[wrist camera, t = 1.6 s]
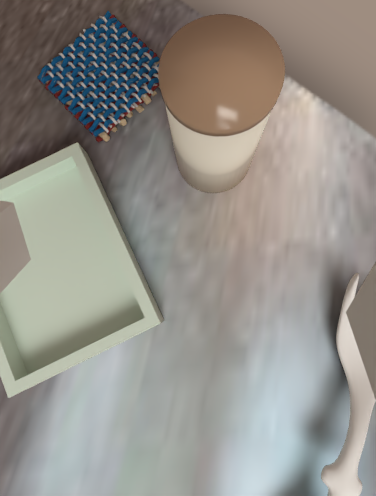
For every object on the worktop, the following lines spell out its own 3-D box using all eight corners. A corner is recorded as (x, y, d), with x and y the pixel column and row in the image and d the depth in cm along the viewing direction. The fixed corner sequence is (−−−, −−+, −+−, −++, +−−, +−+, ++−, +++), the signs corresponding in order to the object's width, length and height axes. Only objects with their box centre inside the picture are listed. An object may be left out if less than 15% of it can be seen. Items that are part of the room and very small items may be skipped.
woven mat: (180, 81, 31) (178, 67, 29) (104, 150, 31) (98, 140, 29) (113, 19, 33) (107, 2, 31) (40, 84, 32) (29, 70, 30)
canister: (163, 142, 30) (137, 47, 18) (230, 110, 30) (248, -6, 18) (196, 206, 29) (191, 150, 17) (265, 173, 29) (308, 94, 17)
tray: (-40, 215, 30) (-62, 208, 28) (87, 154, 30) (77, 142, 28) (25, 388, 28) (8, 398, 25) (164, 320, 28) (160, 323, 25)
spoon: (435, 312, 27) (468, 315, 24) (307, 692, 24) (324, 760, 20) (337, 272, 28) (356, 270, 25) (201, 634, 25) (201, 689, 21)
